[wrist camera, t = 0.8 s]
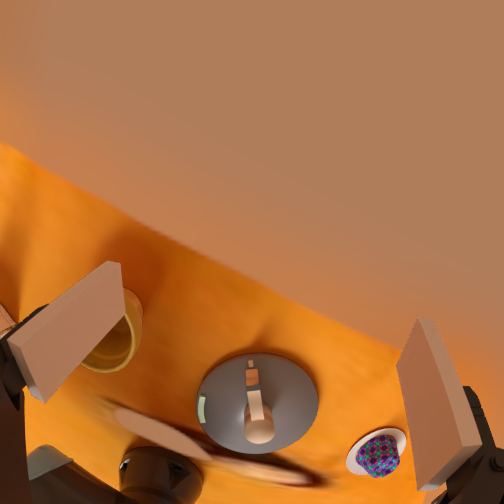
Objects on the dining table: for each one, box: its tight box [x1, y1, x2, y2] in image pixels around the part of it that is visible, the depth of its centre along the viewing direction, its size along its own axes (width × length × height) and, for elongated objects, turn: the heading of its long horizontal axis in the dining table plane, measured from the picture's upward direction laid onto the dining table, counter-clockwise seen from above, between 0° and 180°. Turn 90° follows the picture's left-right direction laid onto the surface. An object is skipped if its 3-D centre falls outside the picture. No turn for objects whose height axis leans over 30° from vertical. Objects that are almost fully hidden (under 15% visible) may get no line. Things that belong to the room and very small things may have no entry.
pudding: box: [346, 428, 406, 478], centre depth 43 cm, size 12×12×5 cm
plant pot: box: [80, 288, 143, 373], centre depth 37 cm, size 10×10×10 cm
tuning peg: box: [244, 368, 275, 444], centre depth 39 cm, size 10×4×5 cm, turn 7°
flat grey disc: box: [196, 353, 318, 454], centre depth 43 cm, size 18×18×2 cm
